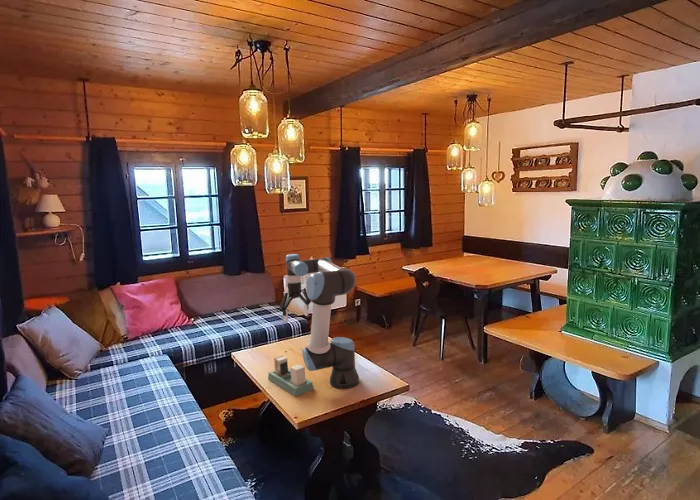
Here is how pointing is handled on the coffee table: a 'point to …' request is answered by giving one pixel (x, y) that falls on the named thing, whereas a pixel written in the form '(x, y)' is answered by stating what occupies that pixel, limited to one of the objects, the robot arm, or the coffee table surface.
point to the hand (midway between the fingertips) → (296, 318)
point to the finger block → (281, 366)
